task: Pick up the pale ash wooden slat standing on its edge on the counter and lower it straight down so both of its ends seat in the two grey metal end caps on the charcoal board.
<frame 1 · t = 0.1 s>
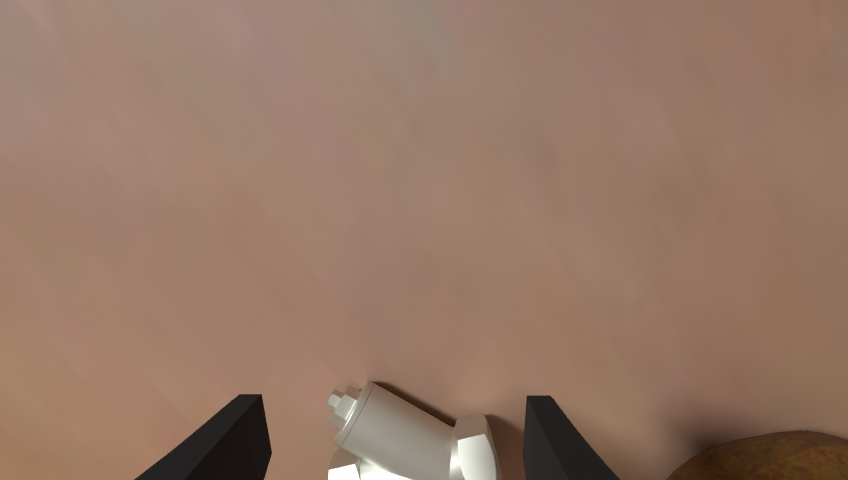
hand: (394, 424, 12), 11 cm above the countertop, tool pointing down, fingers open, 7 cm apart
pipe fitting: (410, 418, 24), on the countertop
potato: (738, 466, 24), on the countertop
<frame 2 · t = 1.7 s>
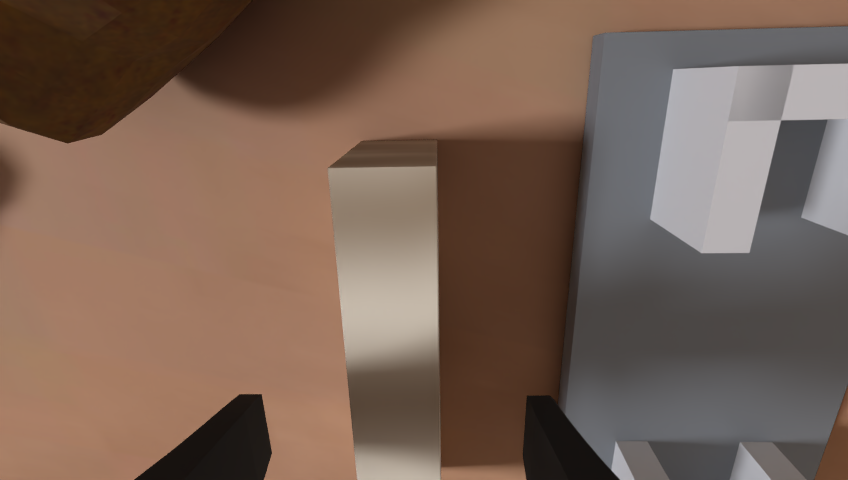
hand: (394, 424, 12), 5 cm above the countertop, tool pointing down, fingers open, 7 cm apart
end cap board: (700, 325, 17), on the countertop
slat: (407, 323, 17), on the countertop
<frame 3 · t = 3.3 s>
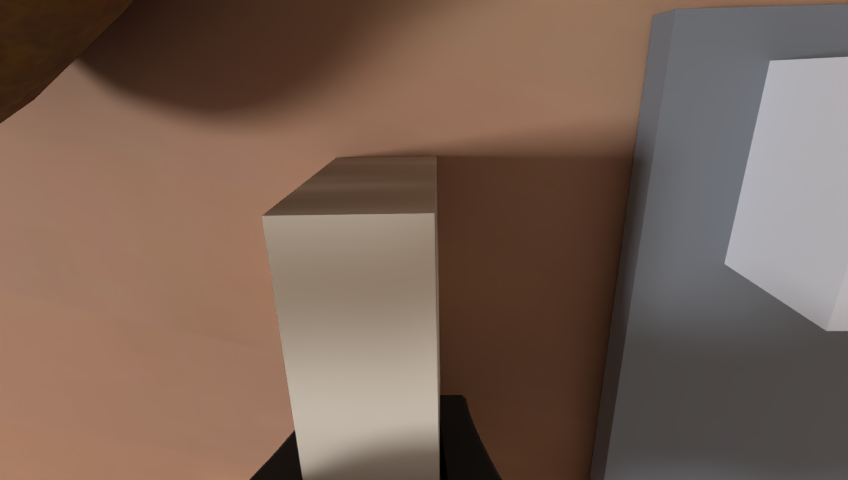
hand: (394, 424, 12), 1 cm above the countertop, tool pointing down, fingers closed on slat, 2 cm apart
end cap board: (775, 392, 13), on the countertop
slat: (398, 389, 14), on the countertop, touching gripper
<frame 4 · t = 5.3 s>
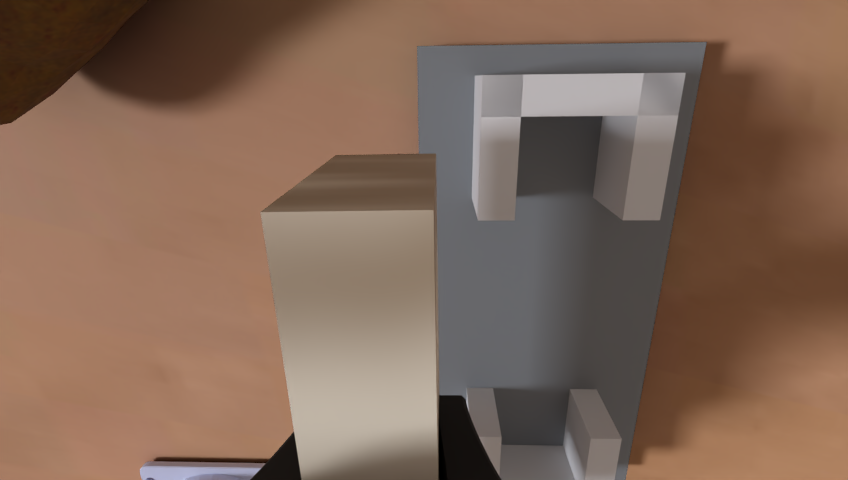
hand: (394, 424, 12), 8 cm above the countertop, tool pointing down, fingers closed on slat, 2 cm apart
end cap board: (534, 290, 20), on the countertop
slat: (397, 387, 14), point 7 cm above the countertop, touching gripper
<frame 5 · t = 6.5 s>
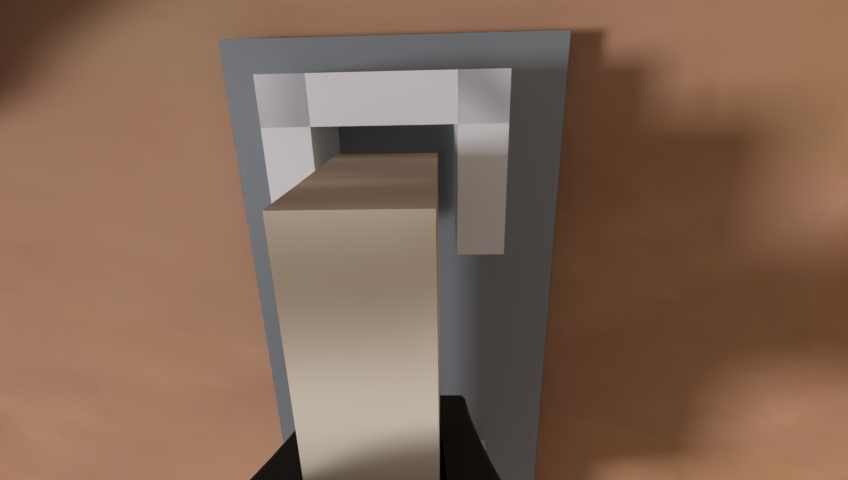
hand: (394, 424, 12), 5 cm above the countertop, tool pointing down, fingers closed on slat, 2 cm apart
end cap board: (406, 326, 17), on the countertop
slat: (398, 387, 13), point 4 cm above the countertop, touching gripper
when the fingers open (3 cm above the countertop, at t = 7.6 s): slat stays where it is, resting on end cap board.
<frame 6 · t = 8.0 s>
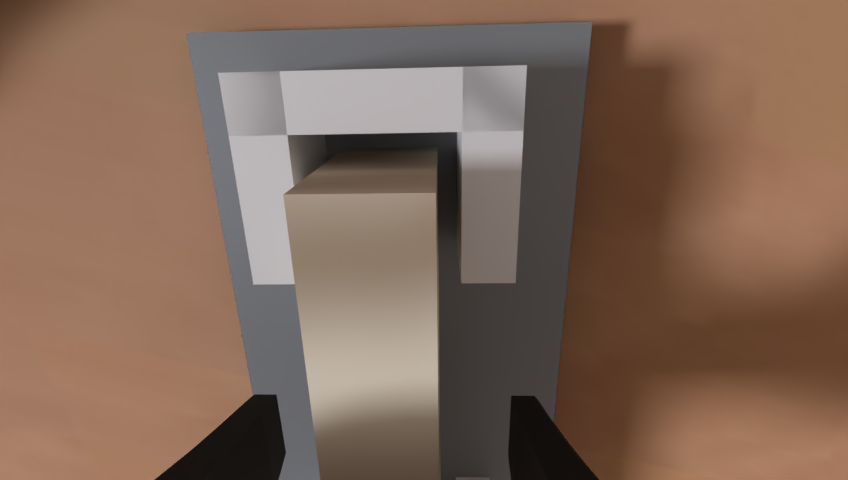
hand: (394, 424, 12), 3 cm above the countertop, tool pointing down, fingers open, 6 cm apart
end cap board: (403, 352, 15), on the countertop
slat: (400, 368, 14), point 1 cm above the countertop, touching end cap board
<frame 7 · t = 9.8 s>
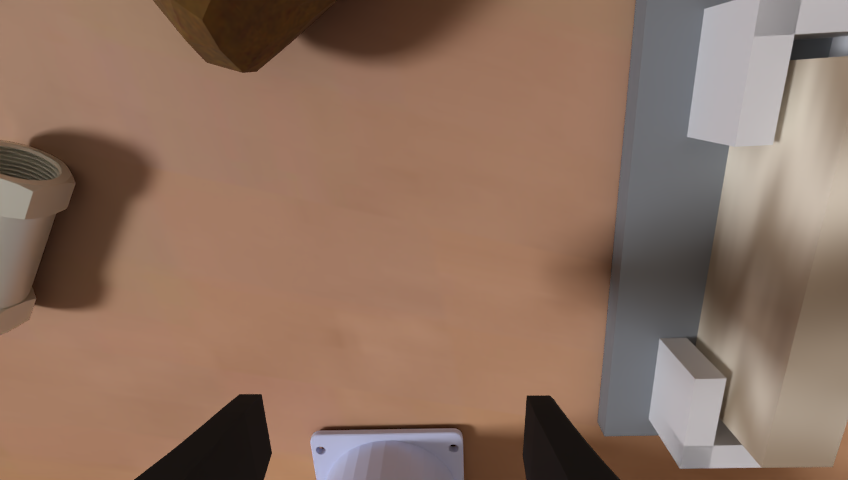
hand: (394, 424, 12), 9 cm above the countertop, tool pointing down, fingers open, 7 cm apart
pipe fitting: (3, 209, 21), on the countertop
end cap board: (729, 235, 20), on the countertop
slat: (743, 241, 19), point 1 cm above the countertop, touching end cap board
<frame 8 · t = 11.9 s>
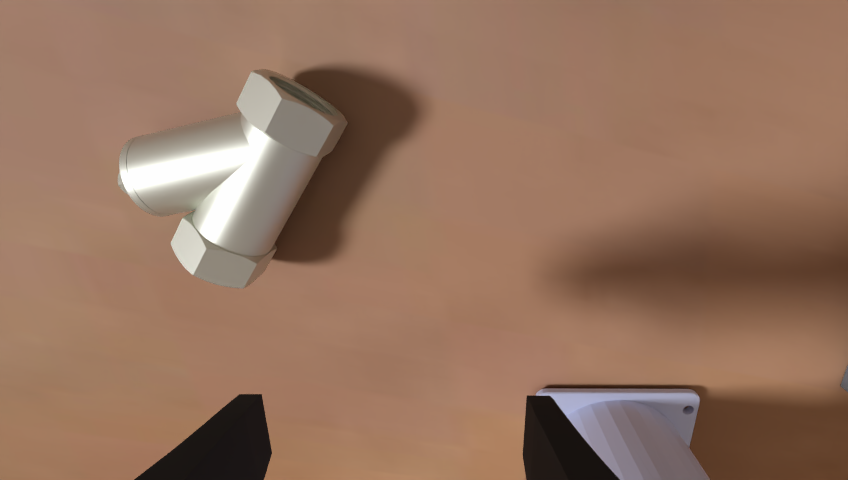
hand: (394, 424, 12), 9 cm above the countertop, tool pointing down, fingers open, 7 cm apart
pipe fitting: (243, 152, 20), on the countertop
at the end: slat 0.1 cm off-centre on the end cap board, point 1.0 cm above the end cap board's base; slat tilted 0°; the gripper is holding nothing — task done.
